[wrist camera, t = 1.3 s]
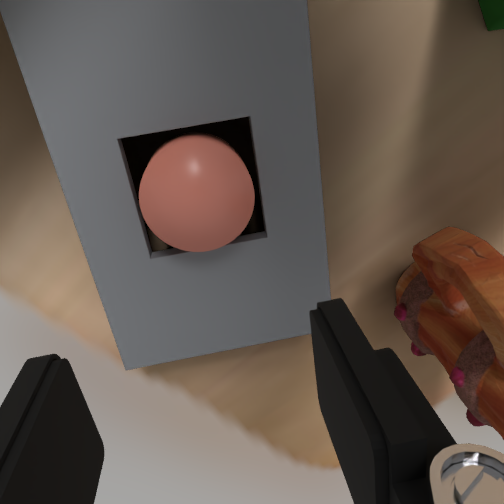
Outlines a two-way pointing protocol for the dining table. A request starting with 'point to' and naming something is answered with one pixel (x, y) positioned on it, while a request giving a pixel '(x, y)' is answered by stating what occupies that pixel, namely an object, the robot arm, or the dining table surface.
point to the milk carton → (493, 13)
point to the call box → (173, 117)
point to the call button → (196, 192)
